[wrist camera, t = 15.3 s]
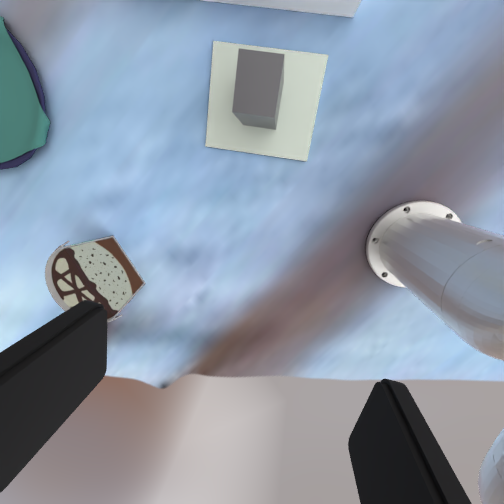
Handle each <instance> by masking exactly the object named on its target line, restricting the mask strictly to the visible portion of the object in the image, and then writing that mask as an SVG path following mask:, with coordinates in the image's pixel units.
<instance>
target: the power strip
mask: <svg viewBox="0 0 504 504" xmlns="http://www.w3.org/2000/svg"><path fill="white" fill-rule="evenodd" d="M202 1H211V2H219V3H228V4H237V5H246V6H255V7H264V8H272V9H281V10H290V11H299V12H308V13H317V14H325V15H334V16H343V17H352V18H353V17H354V15H355V13H356V11H357V9H358V6H359V4H360V2H361V0H202Z"/></svg>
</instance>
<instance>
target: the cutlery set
mask: <svg viewBox="0 0 504 504" xmlns="http://www.w3.org/2000/svg"><path fill="white" fill-rule="evenodd" d="M3 21H4V18H3V17H1V16H0V169H7V168H13V167H17V166H19V165H20V164H22V163H24V162H25V161H27V160H28V159H30V158H31V157H32V155H33V154H34V152H35V151H36V149H37V148H39V147H41V146H43V145H44V144H45V143H46V138H47V132H48V130H49V125H50V121H49V119H48V118H47V116H46V115H45V100H44V93H43V90H42V87H41V84H40V81H39V77H38V74H37V71H36V69H35V67H34V65H33V63H32V62H31V60H30V58H29V57H28V55H27V53H26V51H25V50H24V48H23V46H22V45H21V43H20V42H19V41H18V40H17V39H16V38H15V37H14V36H13V35H12V34H11V33H10V32H9V31H8V30H7V29H6V28H5V26H4V22H3Z"/></svg>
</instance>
